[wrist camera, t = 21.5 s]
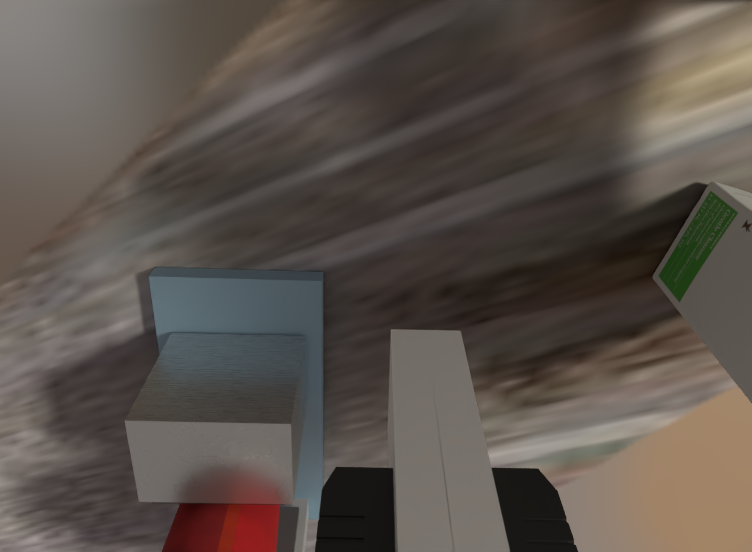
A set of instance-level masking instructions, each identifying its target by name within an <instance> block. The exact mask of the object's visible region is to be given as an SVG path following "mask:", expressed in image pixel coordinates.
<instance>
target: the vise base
mask: <svg viewBox="0 0 752 552" xmlns="http://www.w3.org/2000/svg"><path fill="white" fill-rule="evenodd" d="M149 284H150V291H151V298H152V305H153V312H154V320H155V327H156V334H157V341H158V349H159V355H160V353H161V351H162V349H163V348H164V346H165V344H166V342H167V340H168V338H169V336H170V335H171V333H208V334H248V335H289V336H305V340H306V414H305V421H304V429H303V436H302V443H301V451H300V458H299V466H298V473H297V480H296V488H295V495H294V502H293V504H285V505H280V510H279V523H278V536H277V549H276V552H305V546H306V537H307V527H308V519H319V511H320V502H321V493H322V488H323V389H324V272H313V271H278V270H242V269H206V268H170V267H155V268H154V269H153V271H152V272H151V274H150V275H149Z"/></svg>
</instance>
